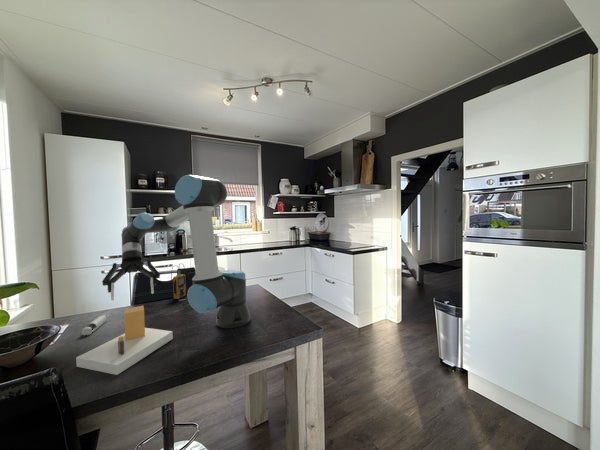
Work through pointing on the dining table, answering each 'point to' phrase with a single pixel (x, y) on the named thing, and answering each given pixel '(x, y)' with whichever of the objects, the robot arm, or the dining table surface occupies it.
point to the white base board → (123, 351)
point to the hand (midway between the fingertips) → (133, 295)
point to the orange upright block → (134, 323)
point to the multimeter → (179, 285)
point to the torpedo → (94, 325)
